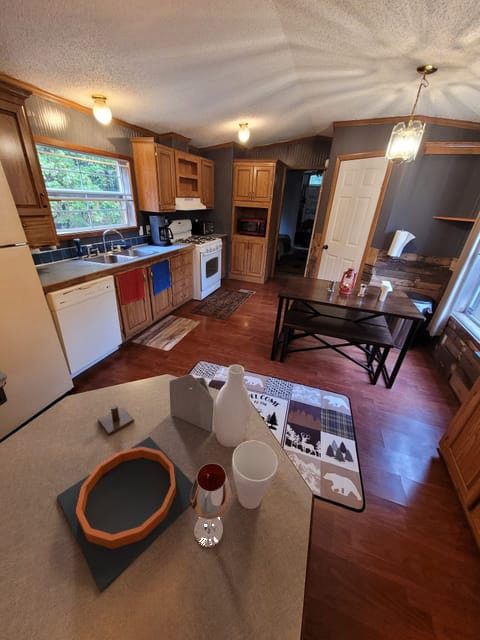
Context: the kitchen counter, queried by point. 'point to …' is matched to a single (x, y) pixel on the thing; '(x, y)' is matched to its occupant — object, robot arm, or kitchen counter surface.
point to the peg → (115, 419)
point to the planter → (192, 401)
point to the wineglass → (210, 502)
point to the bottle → (232, 409)
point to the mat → (125, 510)
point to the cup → (253, 471)
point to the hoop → (146, 527)
